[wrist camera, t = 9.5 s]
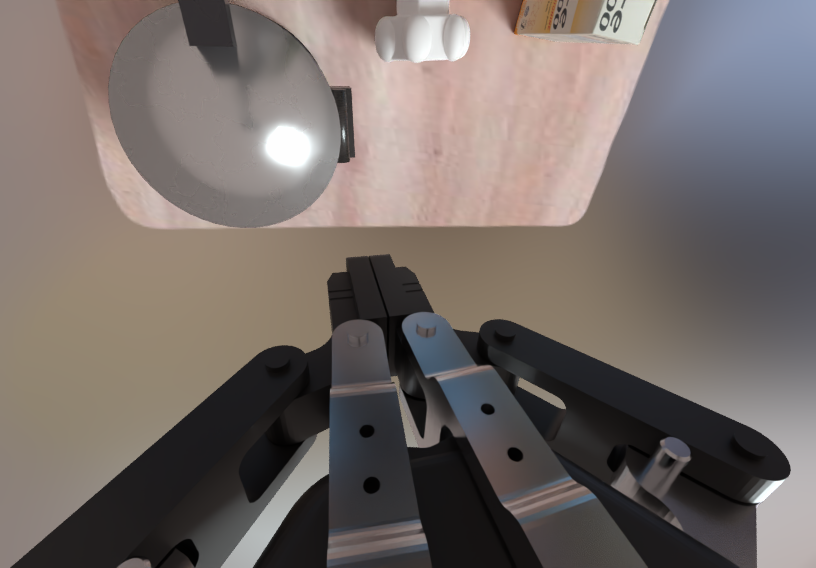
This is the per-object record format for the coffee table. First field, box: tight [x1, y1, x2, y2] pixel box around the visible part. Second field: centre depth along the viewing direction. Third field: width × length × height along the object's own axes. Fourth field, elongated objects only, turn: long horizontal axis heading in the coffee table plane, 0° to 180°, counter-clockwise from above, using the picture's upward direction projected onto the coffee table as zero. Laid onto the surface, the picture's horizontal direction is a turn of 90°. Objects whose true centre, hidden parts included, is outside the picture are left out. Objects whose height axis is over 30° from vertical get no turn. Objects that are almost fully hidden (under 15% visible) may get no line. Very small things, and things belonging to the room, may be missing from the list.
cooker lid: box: [108, 0, 350, 228], centre depth 25 cm, size 20×15×3 cm
